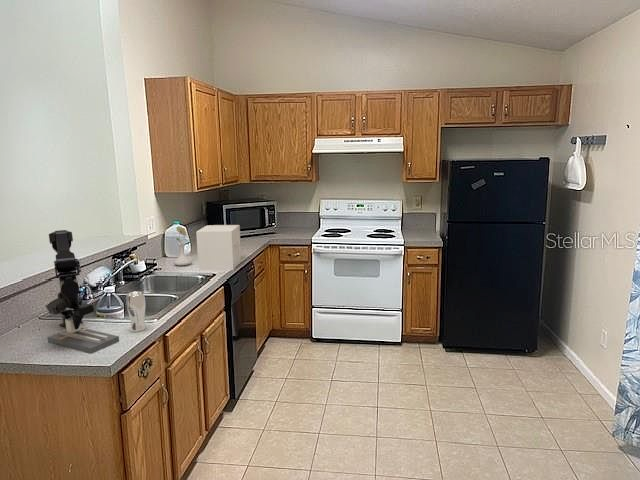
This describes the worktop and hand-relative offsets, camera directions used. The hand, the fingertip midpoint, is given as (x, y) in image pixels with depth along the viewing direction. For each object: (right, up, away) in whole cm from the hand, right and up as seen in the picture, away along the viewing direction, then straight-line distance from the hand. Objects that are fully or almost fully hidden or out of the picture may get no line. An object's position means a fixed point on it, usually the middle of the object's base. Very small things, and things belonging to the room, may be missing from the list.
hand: (73, 328), depth 175 cm
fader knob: (0, -2, 0) cm, 2 cm away
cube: (+31, +17, +117) cm, 122 cm away
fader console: (+5, -5, -1) cm, 7 cm away
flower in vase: (+6, +18, +120) cm, 121 cm away
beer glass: (+21, -3, +11) cm, 23 cm away
